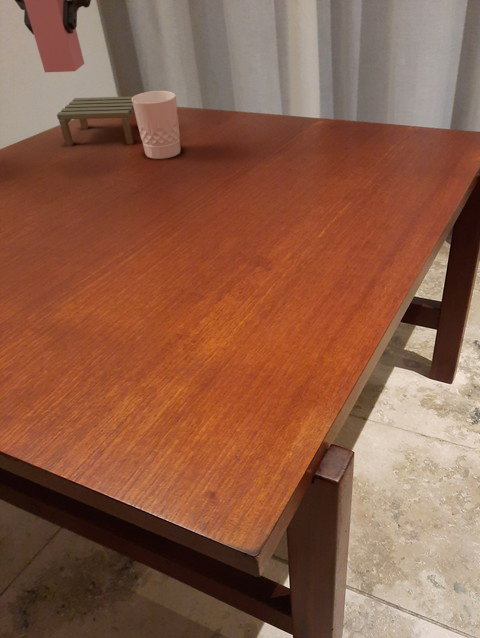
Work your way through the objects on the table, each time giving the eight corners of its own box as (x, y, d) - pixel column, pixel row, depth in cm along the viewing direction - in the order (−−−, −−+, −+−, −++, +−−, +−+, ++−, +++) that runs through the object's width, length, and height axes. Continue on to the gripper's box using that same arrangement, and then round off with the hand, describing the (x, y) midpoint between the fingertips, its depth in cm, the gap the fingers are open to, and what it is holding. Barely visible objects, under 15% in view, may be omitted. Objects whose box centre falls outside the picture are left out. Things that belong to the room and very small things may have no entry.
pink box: (44, 72, 89) (23, -2, 82) (55, 64, 93) (35, -7, 86) (75, 71, 89) (55, -4, 82) (84, 63, 92) (66, -9, 86)
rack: (65, 146, 111) (56, 114, 107) (82, 127, 120) (74, 97, 116) (133, 144, 110) (127, 112, 107) (146, 125, 119) (140, 95, 115)
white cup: (170, 143, 110) (161, 88, 104) (191, 152, 106) (183, 96, 99) (135, 153, 107) (123, 97, 100) (155, 163, 102) (145, 105, 95)
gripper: (-5, -93, 83) (-9, 15, 82) (88, -98, 82) (85, 11, 81) (21, -52, 91) (18, 48, 90) (107, -56, 90) (104, 44, 89)
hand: (50, 30), depth 86 cm, fingers closed on pink box, 5 cm apart
